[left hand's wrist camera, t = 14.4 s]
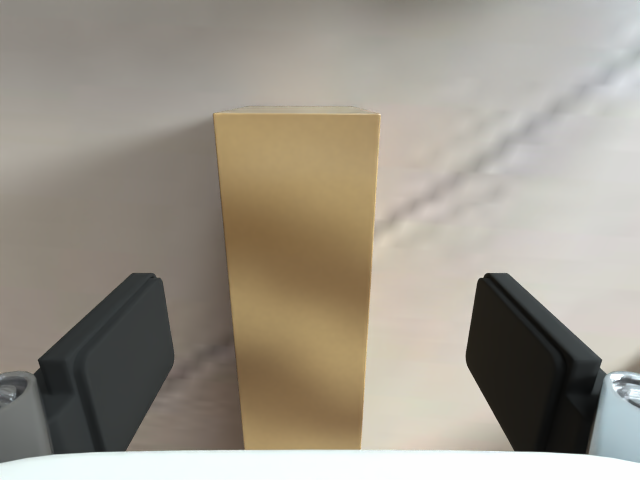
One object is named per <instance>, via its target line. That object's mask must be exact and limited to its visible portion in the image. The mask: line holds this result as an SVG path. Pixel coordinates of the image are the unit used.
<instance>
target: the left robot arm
mask: <svg viewBox="0 0 640 480" xmlns="http://www.w3.org/2000/svg"><path fill="white" fill-rule="evenodd" d="M38 362H39V365H40V368H39V369H38V370H37V371H36V372H35V373H34V374H31V373H29V372H24V371H14V372H7V373H3V374H0V480H640V374H637V373H633V372H626V371H616V372H611V373H609V374H606V373H605V372H604V371H603V370H602V369H601V368H600V365H601V362H602V359H601V358H600V357H598V356H597V355H596V354H595V353H594V352H593V351H592V350H591V349H590V348H589V347H588V346H586V345H585V344H584V343H583V342H582V341H581V340H580V339H579V338H578V337H577V336H576V335H574V334H573V333H572V332H571V331H570V330H569V329H568V328H567V327H566V326H565V325H564V324H563V323H561V322H560V321H559V320H558V319H557V318H556V317H555V316H554V315H553V314H552V313H551V312H549V311H548V310H547V309H546V308H545V307H544V306H543V305H542V304H541V303H540V302H539V301H537V300H536V299H535V298H534V297H533V296H532V295H531V294H530V293H529V292H528V291H527V290H525V289H524V288H523V287H522V286H521V285H520V284H519V283H518V282H517V281H516V280H515V279H513V278H512V277H511V276H510V275H509V274H507V273H486V274H485V275H484V277H483V278H480V279H479V280H478V282H477V288H476V294H475V300H474V306H473V312H472V319H471V325H470V331H469V337H468V343H467V349H466V363H467V366H468V368H469V370H470V372H471V374H472V375H473V377H474V379H475V381H476V383H477V384H478V386H479V388H480V390H481V392H482V393H483V395H484V397H485V399H486V401H487V402H488V404H489V406H490V408H491V410H492V411H493V413H494V415H495V417H496V419H497V420H498V422H499V424H500V426H501V428H502V429H503V431H504V433H505V435H506V437H507V438H508V440H509V442H510V444H511V446H512V447H513V449H514V451H515V452H509V451H458V450H182V451H131V452H125V451H126V449H127V447H128V446H129V444H130V442H131V440H132V438H133V437H134V435H135V433H136V431H137V429H138V428H139V426H140V424H141V422H142V420H143V419H144V417H145V415H146V413H147V411H148V410H149V408H150V406H151V404H152V402H153V401H154V399H155V397H156V395H157V393H158V392H159V390H160V388H161V386H162V384H163V383H164V381H165V379H166V377H167V375H168V374H169V372H170V370H171V368H172V366H173V363H174V349H173V343H172V337H171V331H170V325H169V319H168V312H167V306H166V300H165V294H164V288H163V282H162V280H161V279H160V278H157V277H156V275H155V274H154V273H133V274H131V275H130V276H129V277H128V278H127V279H125V280H124V281H123V282H122V283H121V284H120V285H119V286H118V287H117V288H116V289H115V290H113V291H112V292H111V293H110V294H109V295H108V296H107V297H106V298H105V299H104V300H103V301H101V302H100V303H99V304H98V305H97V306H96V307H95V308H94V309H93V310H92V311H91V312H89V313H88V314H87V315H86V316H85V317H84V318H83V319H82V320H81V321H80V322H79V323H77V324H76V325H75V326H74V327H73V328H72V329H71V330H70V331H69V332H68V333H67V334H66V335H64V336H63V337H62V338H61V339H60V340H59V341H58V342H57V343H56V344H55V345H54V346H52V347H51V348H50V349H49V350H48V351H47V352H46V353H45V354H44V355H43V356H42V357H40V358H39V359H38Z"/></svg>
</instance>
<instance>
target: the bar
mask: <svg viewBox="0 0 640 480" xmlns="http://www.w3.org/2000/svg"><path fill="white" fill-rule="evenodd" d="M380 118H381V115H380V114H379V113H375V112H371V111H367V110H364V109H360V108H356V107H352V106H246V107H241V108H237V109H232V110H227V111H222V112H217V113H214V114H213V121H214V132H215V142H216V153H217V164H218V174H219V185H220V196H221V206H222V217H223V228H224V239H225V249H226V260H227V271H228V281H229V292H230V303H231V313H232V324H233V335H234V345H235V356H236V367H237V377H238V388H239V399H240V410H241V420H242V431H243V442H244V450H361V438H362V421H363V404H364V387H365V370H366V354H367V337H368V320H369V303H370V286H371V270H372V253H373V236H374V219H375V202H376V186H377V169H378V152H379V135H380Z"/></svg>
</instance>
